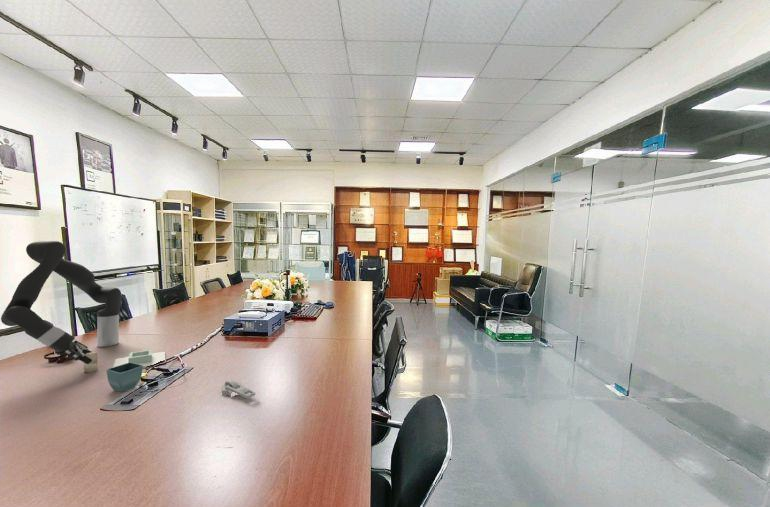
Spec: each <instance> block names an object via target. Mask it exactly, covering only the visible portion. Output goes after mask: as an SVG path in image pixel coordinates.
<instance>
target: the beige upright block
mask: <svg viewBox="0 0 770 507" xmlns="http://www.w3.org/2000/svg"><path fill="white" fill-rule="evenodd" d="M85 356H87V357H89V358H90V359H92V361H91V362H90V363H89V364H86V363H84V362H83V367H84V368H83V369H84V371H83V372H84V374H88V373H94V372H96V371H98V352H97V351H91V353H87V354H85Z"/></svg>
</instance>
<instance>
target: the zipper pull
mask: <svg viewBox="0 0 770 507" xmlns="http://www.w3.org/2000/svg"><path fill="white" fill-rule="evenodd" d="M232 392H235V393H237V394H239V395H238V396H241V397H244V398H246V399H249V398H252V397H255V396H256V392H255V391H253V390H252V389H250V388H248V387H246V386H244V385H242V383H241V382H238V381H235V380H233V379H230V380H228V381H225V382H224V385H222V387H221V393H222V395H229V396H230V397H231V393H232ZM222 395H221V396H222ZM229 396H228V397H229ZM230 397H229V398H230Z"/></svg>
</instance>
